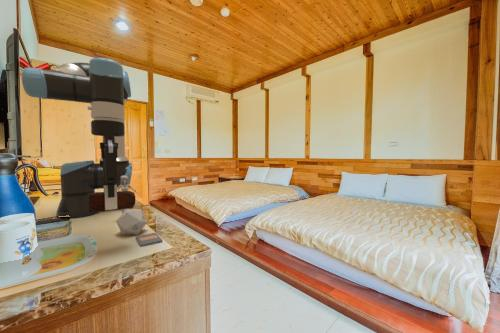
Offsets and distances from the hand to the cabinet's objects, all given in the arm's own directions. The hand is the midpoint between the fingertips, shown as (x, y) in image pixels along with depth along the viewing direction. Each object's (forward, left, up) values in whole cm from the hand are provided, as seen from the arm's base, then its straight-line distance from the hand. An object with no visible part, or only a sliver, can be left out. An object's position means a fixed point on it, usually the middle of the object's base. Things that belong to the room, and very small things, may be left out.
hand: (110, 207), depth 60 cm
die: (-12, +7, -12) cm, 18 cm away
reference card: (-2, +10, -12) cm, 16 cm away
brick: (0, 0, -1) cm, 1 cm away
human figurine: (-29, +7, -12) cm, 32 cm away
